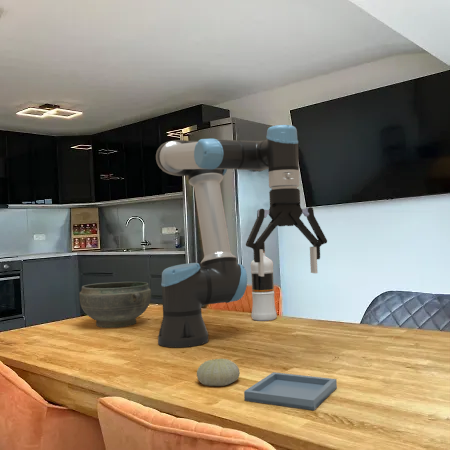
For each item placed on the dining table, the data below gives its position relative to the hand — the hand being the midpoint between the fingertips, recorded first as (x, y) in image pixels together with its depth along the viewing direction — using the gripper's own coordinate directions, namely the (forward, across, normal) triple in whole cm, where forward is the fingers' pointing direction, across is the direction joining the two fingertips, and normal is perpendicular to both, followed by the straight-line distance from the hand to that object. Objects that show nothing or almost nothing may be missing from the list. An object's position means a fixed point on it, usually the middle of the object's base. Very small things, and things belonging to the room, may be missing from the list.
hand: (287, 274), depth 125 cm
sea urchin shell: (+22, -20, -10) cm, 31 cm away
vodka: (+22, +9, +62) cm, 66 cm away
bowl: (+22, -44, +73) cm, 89 cm away
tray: (+22, -7, -23) cm, 33 cm away
